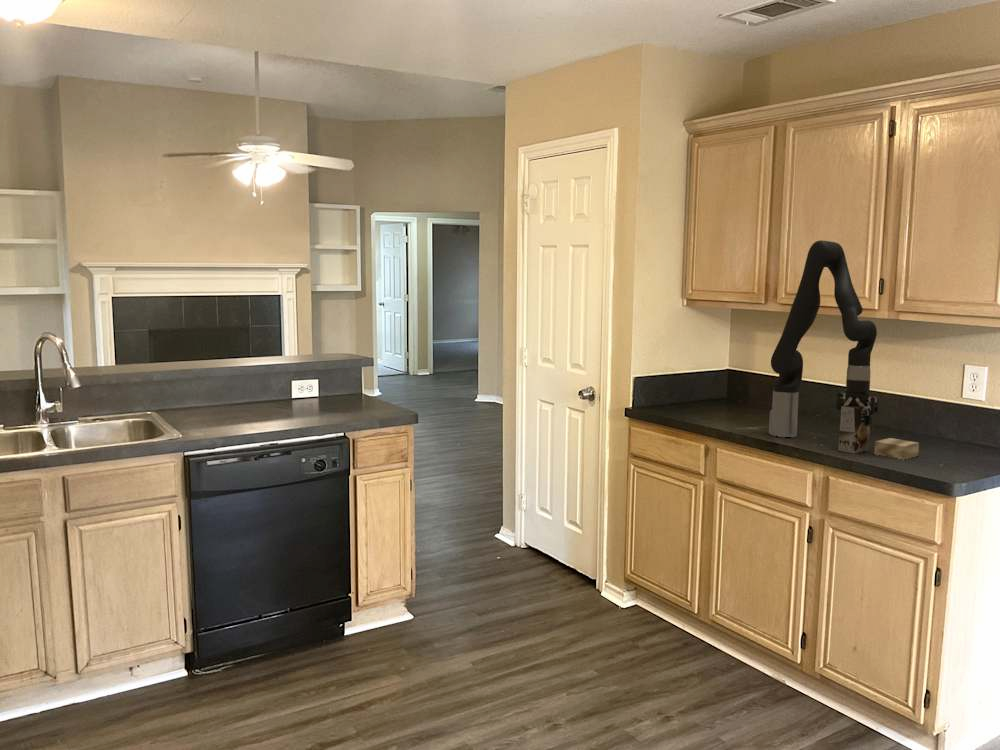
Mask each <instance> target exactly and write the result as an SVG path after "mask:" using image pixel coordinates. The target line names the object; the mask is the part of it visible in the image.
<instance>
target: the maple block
mask: <svg viewBox="0 0 1000 750" xmlns="http://www.w3.org/2000/svg"><path fill="white" fill-rule="evenodd" d="M919 449H920V442H917V441H910V440H905V439H901V438H900V439H898V438H894V437H893V438H892V437H888V438H883V439H880V440H879V439H878V440H875V441H874V453H873V455H874V454H877V455H876V456H878V455H882V456H881V457H883V456H888V457H893V458H892V459H894V458H898V459H897V460H899V459H903V460H902V461H905V460H904V459H907V460H909V459H908V458H910V459H912V458H911V457H914V458H916V457H915V456H918V457H919V451H920V450H919ZM888 457H887V458H888Z"/></svg>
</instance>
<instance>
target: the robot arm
mask: <svg viewBox="0 0 1000 750" xmlns="http://www.w3.org/2000/svg"><path fill="white" fill-rule="evenodd" d="M824 268H827V269H828V270H829V271H830V273H831V275H832V277H833V281H834V290H833V291H834V293H833V295H834V300H835V303H836V304H837V307H838V310H839V313H840V314H841V321H842V328H843V329H842V330H843V334H844V336H845V337H846V338H847V339H848V340H849V341H851V342H856V345H855V347H852V348H850V349H849V350H848V357H847V369H846V381H845V383H846V384H845V391H846V392H838V393H837V398H836V405H835V408H836V409H837V410H839V411H841V406H845V405H847V406H848V405H850V406H859V407H862V410H863V411H864V412H865V414H866V416H865V426H870V427H871V425H872V420H873V415H878V414H879V397H878V396H870V390H871V355H872V350H873V349H874V345H875V342H876V338H877V335H878V330H877V326H876V324H875V323H874V322H873V321H871V320H868V319H867V320H859V318H858V316H860V315H861V314H862V313H863V310H864V309H863V306H862V304H861V301H860V299H859V297H858V294H857V292H856V289H855V288H854V284H853V282H852V279H851V274H850V272H849V271H850V270H849V267H848V263H847V259H846V254H845V251H844V249H843V246H842V245H841V244H839V242H835V241H829V240H816V241H815V242H813V243H812V245H811V246H810V248H809V250H808V253H807V255H806V259H805V264H804V268H803V272H802V276H801V279H800V282H799V286H798V287H797V288H798V289H797V292H796V295H795V297H794V299H793V302H792V305H791V307H790V311H789V314H788V316H787V319H786V322H785V325H784V328H783V330H782V331H783V332H782V334H781V336H780V339H779V340H778V343H777V345H776V346H775V349H774V350H773V353H772V356H771V358H770V366H771V370H773V372H774V373H776V374H779V375H778V377H777V380H776V381H775V382H774V383H773V384H772V385H773V386H772V388H773V389H772V406H771V408H772V409H770V410H769V421H768V423H769V424H768V434H769V435H771V436H773V437H776V436H778V438H785V437H791V438H796V437H797V433H798V431H797V429H798V413H799V391H800V386H801V385H802V380H803V371H804V359H803V356H802V353H801V352H800V351H799V350H797V349H798V347H799V344H800V342H801V341H802V339H803V337H804V336H805V335H806V333H808V330H810V328H811V327H812V325H813V324H814V322H815V320H816V318H817V315H818V313H819V309H820V305H821V293H820V280H821V277H822V274H823V271H824ZM845 399H846V402H845ZM869 403H870V404H869ZM870 406H871V409H870Z"/></svg>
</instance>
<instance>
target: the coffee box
mask: <svg viewBox="0 0 1000 750" xmlns="http://www.w3.org/2000/svg"><path fill="white" fill-rule="evenodd" d="M869 406H870V409H871V405H869ZM865 416H866V414H865V412H864V411H863V410H862V407H859V406H850V405H848V406H847V405H845V406H841V410H840V423H839V436H838V437H839V438H838V451H840V452H844V453H849V454H852V453H853V455H856V454H860V453H864V452H863V451H865V452H868V451H869V448H870V447H869V445H870V443H869V442H870V431H871V429H870V427H871V425H870V426H865ZM867 450H868V451H867ZM859 452H860V453H859ZM855 453H856V454H855Z"/></svg>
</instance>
